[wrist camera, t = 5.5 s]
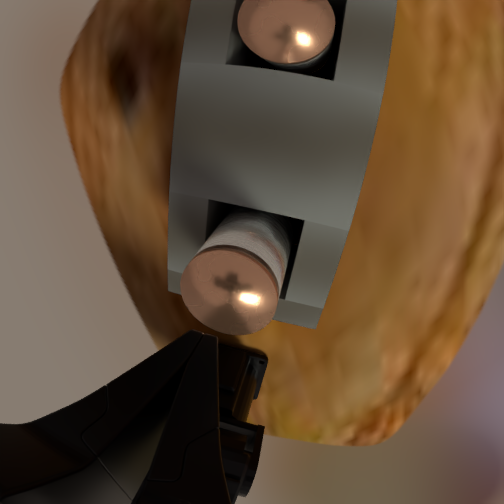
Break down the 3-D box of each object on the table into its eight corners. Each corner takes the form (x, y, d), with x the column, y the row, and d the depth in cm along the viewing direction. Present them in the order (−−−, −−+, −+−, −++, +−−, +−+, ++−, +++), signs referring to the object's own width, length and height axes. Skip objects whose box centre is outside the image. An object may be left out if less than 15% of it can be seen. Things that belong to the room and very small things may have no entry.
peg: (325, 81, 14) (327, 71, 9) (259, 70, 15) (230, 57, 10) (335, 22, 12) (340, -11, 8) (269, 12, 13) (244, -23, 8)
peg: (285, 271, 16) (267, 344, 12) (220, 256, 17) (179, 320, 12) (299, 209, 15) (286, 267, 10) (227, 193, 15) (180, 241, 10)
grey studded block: (319, 269, 20) (315, 329, 15) (205, 242, 21) (167, 290, 16) (376, 11, 12) (399, -26, 7) (238, -10, 13) (202, -49, 8)
